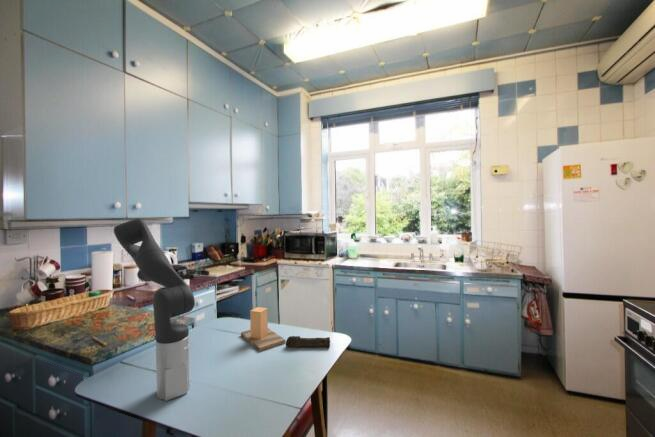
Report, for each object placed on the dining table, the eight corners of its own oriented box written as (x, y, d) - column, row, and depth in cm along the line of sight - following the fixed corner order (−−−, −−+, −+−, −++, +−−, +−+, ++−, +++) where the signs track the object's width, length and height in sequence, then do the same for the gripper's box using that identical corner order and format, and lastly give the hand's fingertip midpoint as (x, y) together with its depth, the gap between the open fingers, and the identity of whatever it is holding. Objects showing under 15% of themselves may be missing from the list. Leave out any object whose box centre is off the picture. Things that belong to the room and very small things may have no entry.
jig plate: (285, 342, 124) (285, 331, 124) (260, 351, 116) (259, 339, 116) (264, 328, 139) (264, 318, 139) (240, 335, 132) (240, 324, 132)
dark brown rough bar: (330, 344, 122) (330, 334, 122) (330, 349, 118) (329, 338, 118) (287, 344, 123) (286, 334, 123) (285, 348, 119) (285, 338, 119)
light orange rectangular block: (267, 334, 129) (267, 308, 129) (260, 339, 124) (260, 312, 124) (257, 332, 131) (257, 307, 131) (250, 337, 126) (250, 310, 126)
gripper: (160, 267, 124) (188, 269, 118) (186, 262, 137) (213, 263, 131) (160, 284, 124) (188, 287, 118) (187, 277, 137) (213, 280, 131)
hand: (201, 275), depth 124 cm, fingers open, 8 cm apart
